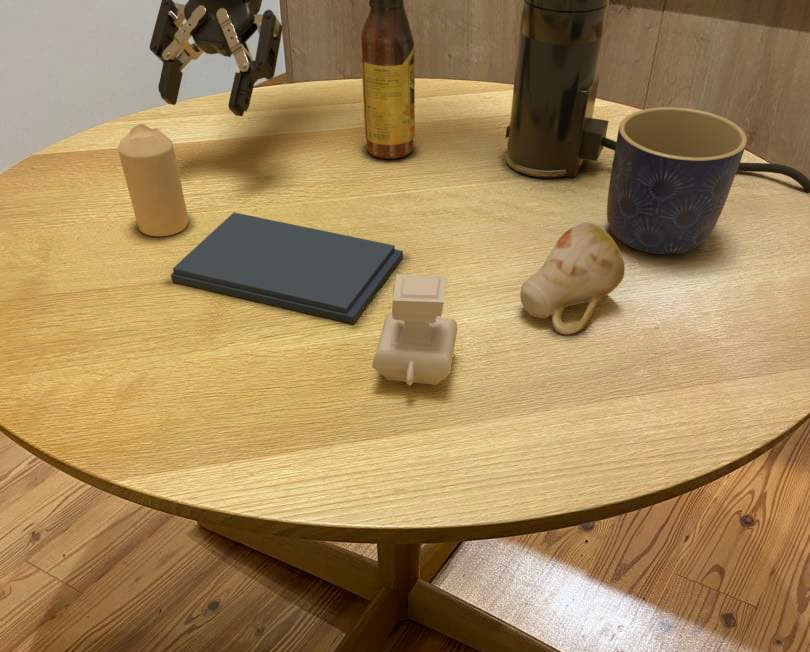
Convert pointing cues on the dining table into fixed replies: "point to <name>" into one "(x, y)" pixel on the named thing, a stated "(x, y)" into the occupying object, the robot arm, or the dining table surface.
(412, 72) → the sauce bottle
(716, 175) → the planter
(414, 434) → the dining table surface
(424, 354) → the beige blocky piece
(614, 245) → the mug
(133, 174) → the candle
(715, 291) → the dining table surface
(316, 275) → the dark grey rectangular slab
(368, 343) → the dining table surface
